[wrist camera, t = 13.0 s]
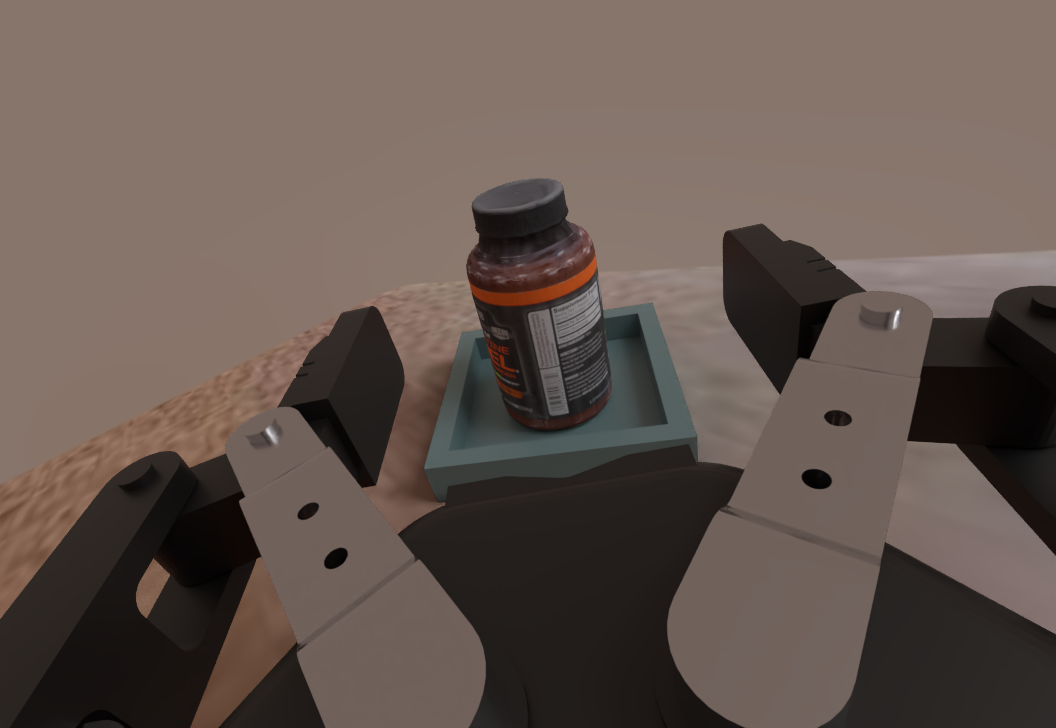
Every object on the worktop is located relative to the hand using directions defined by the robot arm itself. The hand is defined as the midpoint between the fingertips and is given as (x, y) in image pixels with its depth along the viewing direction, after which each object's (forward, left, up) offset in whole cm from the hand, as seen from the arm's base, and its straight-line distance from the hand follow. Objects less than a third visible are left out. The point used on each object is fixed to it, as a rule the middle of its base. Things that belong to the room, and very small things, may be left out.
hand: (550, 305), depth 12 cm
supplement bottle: (+2, -12, -12) cm, 17 cm away
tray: (+2, -12, -12) cm, 17 cm away
